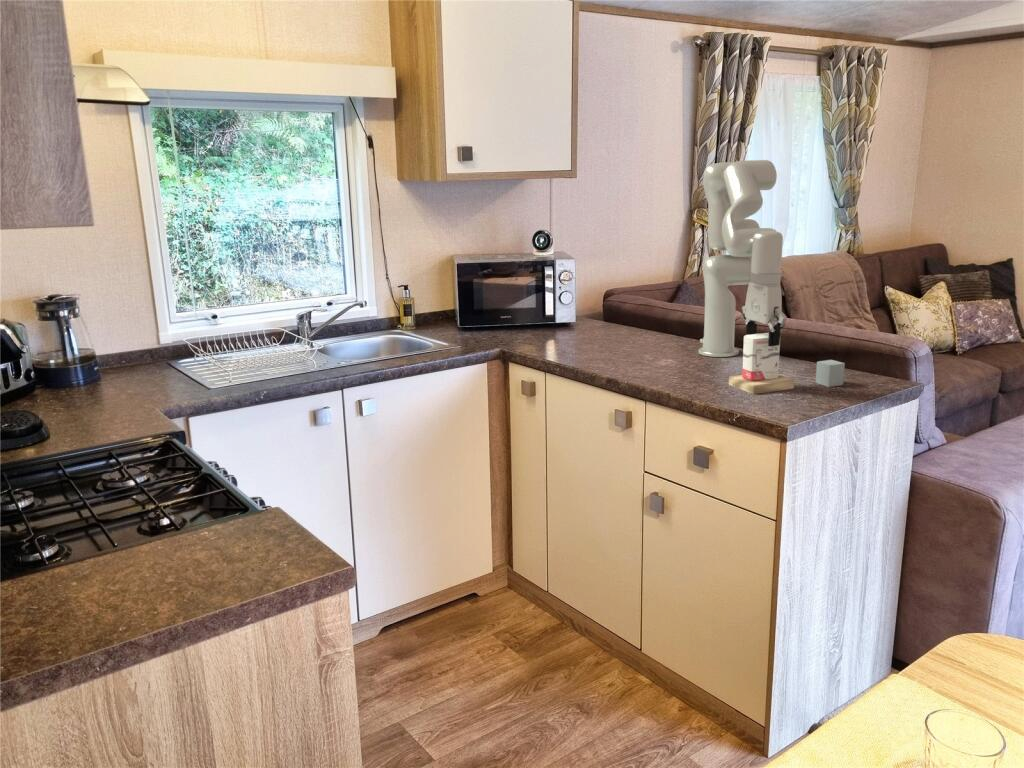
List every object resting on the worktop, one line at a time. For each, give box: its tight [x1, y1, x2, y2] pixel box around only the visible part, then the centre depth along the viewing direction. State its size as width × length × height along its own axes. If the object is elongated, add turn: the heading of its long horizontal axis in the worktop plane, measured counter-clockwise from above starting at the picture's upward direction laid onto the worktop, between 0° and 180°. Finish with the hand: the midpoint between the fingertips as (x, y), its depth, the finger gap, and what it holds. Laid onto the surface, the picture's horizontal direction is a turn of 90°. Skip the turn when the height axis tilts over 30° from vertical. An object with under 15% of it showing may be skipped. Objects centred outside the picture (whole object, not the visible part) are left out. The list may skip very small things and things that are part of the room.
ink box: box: [741, 332, 781, 381], centre depth 216 cm, size 9×5×12 cm, turn 106°
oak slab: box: [728, 374, 795, 395], centre depth 218 cm, size 11×13×3 cm
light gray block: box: [815, 359, 846, 388], centre depth 218 cm, size 5×5×6 cm
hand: (762, 342), depth 216 cm, fingers open, 9 cm apart
